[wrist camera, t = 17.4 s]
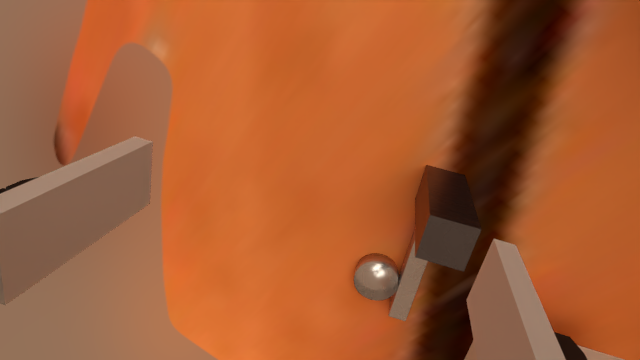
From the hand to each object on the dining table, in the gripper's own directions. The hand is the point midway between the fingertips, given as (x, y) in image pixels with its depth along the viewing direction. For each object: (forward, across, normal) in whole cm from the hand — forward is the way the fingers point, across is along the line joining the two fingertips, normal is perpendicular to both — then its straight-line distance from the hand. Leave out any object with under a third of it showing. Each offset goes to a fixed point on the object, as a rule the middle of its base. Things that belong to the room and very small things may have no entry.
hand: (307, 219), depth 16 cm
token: (+29, +6, -20) cm, 36 cm away
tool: (+29, +9, -15) cm, 34 cm away
